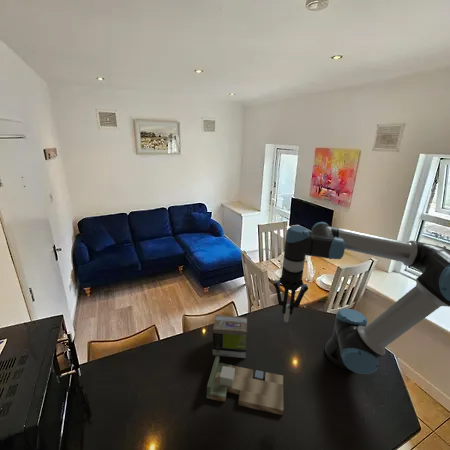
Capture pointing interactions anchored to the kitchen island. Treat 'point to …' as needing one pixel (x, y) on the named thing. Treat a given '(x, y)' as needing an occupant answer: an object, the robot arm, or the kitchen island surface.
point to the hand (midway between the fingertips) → (286, 319)
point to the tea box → (230, 336)
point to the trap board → (248, 388)
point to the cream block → (227, 376)
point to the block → (259, 375)
